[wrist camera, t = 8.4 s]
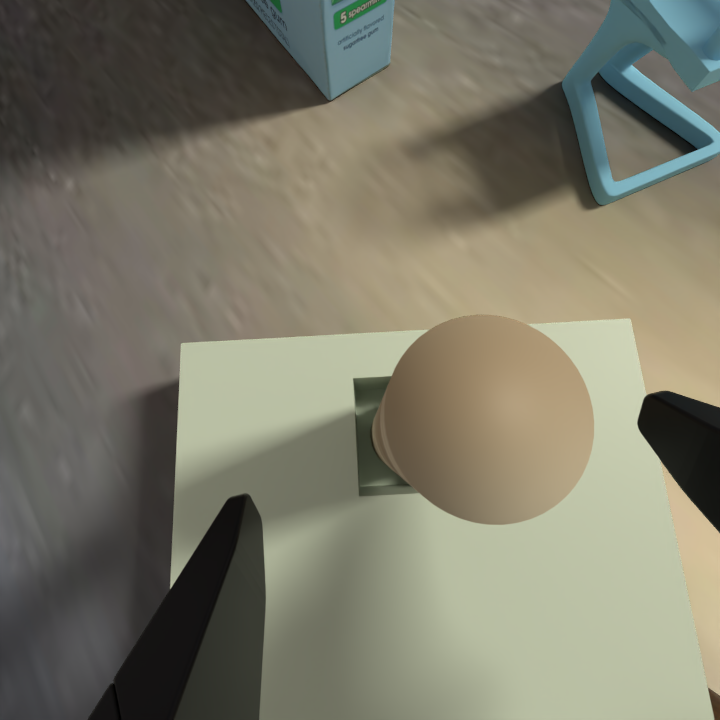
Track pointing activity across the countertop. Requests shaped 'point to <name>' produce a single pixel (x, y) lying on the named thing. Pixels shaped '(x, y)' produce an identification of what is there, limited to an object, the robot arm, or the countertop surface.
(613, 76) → the chair
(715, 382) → the countertop surface
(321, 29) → the gum box
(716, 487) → the robot arm
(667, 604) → the plinth
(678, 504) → the countertop surface
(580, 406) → the pin
